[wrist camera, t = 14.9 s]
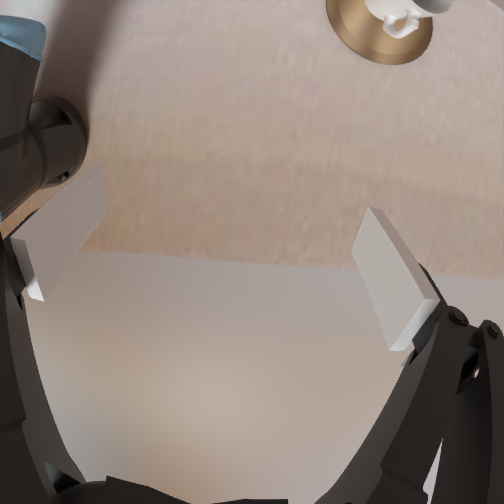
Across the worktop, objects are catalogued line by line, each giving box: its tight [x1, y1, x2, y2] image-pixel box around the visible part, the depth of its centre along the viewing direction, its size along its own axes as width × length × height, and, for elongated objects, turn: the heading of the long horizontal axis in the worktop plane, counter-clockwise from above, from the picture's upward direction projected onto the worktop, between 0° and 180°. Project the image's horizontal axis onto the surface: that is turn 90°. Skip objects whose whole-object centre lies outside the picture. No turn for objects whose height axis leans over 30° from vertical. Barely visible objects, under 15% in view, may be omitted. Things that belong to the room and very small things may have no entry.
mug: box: [365, 0, 453, 39], centre depth 22 cm, size 10×7×12 cm, turn 167°
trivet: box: [326, 0, 433, 65], centre depth 27 cm, size 16×16×1 cm
